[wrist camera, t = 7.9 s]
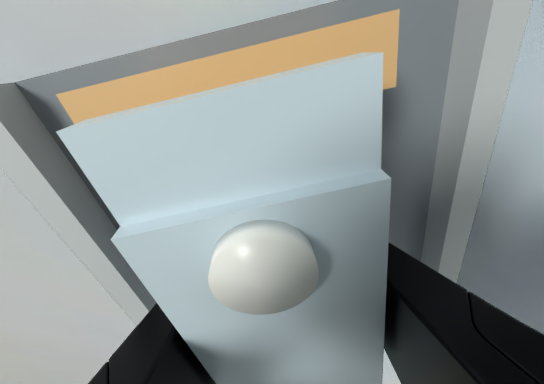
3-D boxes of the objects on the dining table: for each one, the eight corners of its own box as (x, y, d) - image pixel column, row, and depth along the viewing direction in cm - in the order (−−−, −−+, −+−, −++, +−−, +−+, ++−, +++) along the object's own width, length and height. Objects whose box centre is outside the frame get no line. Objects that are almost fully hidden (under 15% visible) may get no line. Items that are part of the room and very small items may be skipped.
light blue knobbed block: (337, 291, 11) (387, 433, 7) (254, 308, 12) (255, 455, 7) (309, 51, 6) (419, 53, 2) (164, 87, 7) (5, 152, 2)
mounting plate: (429, 255, 13) (498, 335, 9) (165, 308, 14) (133, 402, 10) (477, -32, 7) (719, -122, 3) (6, 86, 8) (-213, 119, 4)
